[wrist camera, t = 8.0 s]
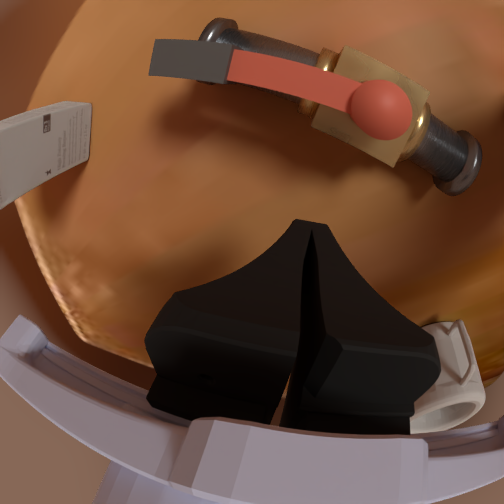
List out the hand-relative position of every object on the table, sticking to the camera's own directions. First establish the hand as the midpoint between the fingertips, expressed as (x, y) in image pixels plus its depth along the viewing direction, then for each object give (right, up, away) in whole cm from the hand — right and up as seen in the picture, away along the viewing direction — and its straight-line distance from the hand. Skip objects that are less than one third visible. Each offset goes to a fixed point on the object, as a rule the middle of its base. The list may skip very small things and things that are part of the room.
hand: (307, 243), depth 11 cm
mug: (+19, -11, +15) cm, 27 cm away
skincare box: (-19, +12, +10) cm, 24 cm away
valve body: (+5, +10, +4) cm, 12 cm away
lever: (-1, +8, +1) cm, 8 cm away
